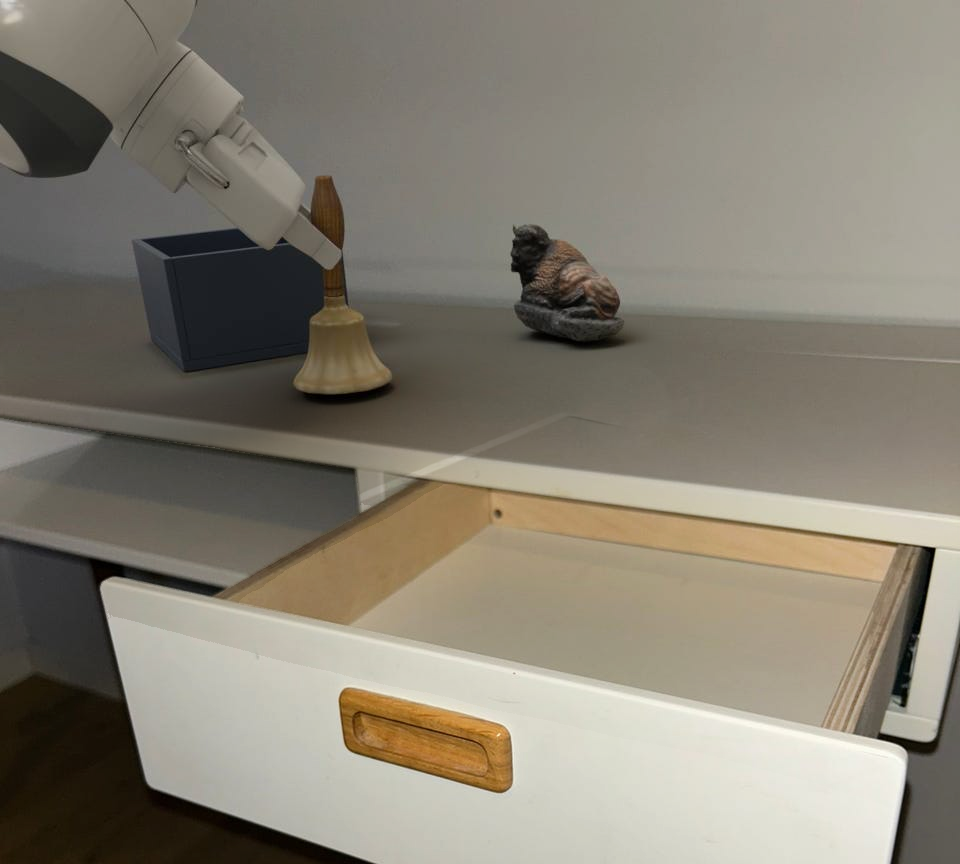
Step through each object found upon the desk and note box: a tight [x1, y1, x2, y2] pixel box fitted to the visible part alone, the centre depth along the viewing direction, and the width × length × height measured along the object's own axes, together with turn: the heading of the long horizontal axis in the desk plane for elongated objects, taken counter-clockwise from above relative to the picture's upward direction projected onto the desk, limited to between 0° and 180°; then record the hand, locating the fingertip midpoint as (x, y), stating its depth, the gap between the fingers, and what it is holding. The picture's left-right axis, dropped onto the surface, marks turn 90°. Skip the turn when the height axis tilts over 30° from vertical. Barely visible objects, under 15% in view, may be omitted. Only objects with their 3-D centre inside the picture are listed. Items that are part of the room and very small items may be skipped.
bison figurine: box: [509, 223, 625, 343], centre depth 100 cm, size 12×7×10 cm, turn 47°
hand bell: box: [293, 174, 394, 395], centre depth 86 cm, size 8×8×16 cm
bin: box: [131, 227, 350, 373], centre depth 106 cm, size 17×17×10 cm
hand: (337, 258), depth 85 cm, fingers closed on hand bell, 2 cm apart
